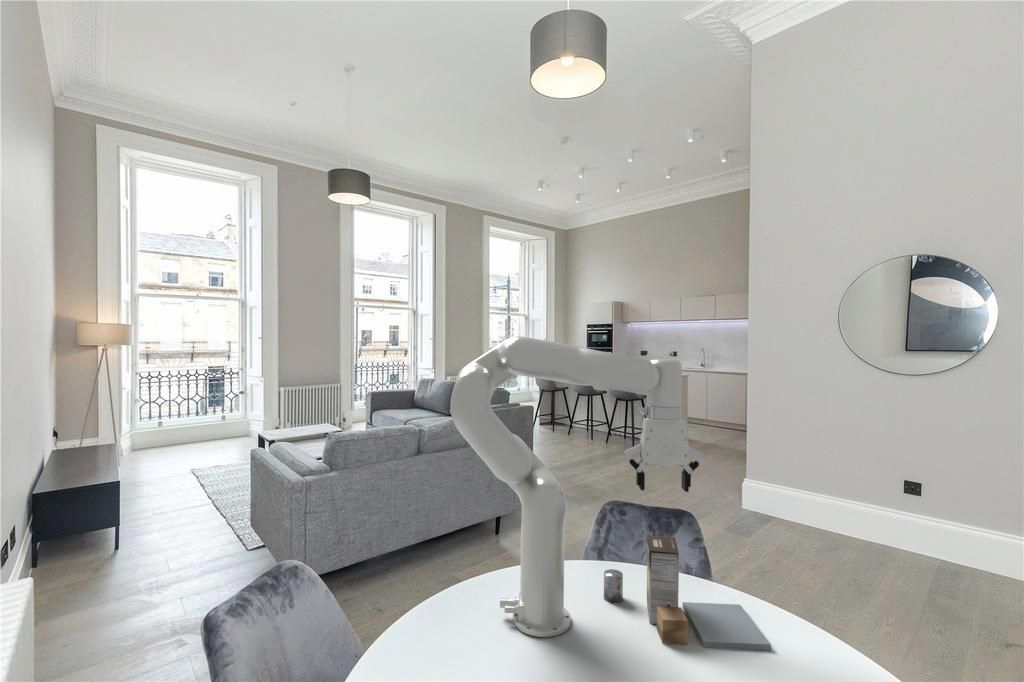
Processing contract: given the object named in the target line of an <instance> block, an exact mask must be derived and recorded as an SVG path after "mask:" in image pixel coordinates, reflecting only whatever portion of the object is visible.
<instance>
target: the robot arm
mask: <svg viewBox="0 0 1024 682" xmlns="http://www.w3.org/2000/svg"><path fill="white" fill-rule="evenodd" d="M682 369H683V366H682V363H681V362H680V361H679V360H677V359H670V358H669V359H667V358H657V359H651V360H649V359H647V358H643V357H636V356H630V355H624V354H617V353H613V352H606V351H602V350H601V351H600V350H596V349H592V348H587V347H584V346H579V345H574V344H569V343H562V342H561V343H560V342H555V341H550V340H545V339H539V338H538V339H537V338H532V337H527V336H526V337H525V336H511V337H509V338H506V339H504V340H503V341H502V342H501V343H499V344H498V345H496V346H495V347H493V348H491V349H490V350H488V351H487V352H486V353H484V354H483V355H481V356H479V357H478V358H476V359H475V360H473V361H472V362H470V363H468V364H467V365H466V366H464V367H462V369H460V370H459V372H458V373H457V376H456V379H455V383H454V385H453V389H452V392H451V397H450V408H449V409H450V414H451V418H452V421H453V423H454V424H453V425H454V426H455V427H456V429H457V431H458V432H459V434H460V435H461V436H462V437H463V439H464V440H465V441H466V442H467V444H468V445H469V446H470V447H471V448H472V449H473V451H474V452H475V453H476V454H477V455H478V457H479V458H480V459H481V460H482V461H483V462H484V464H485V465H486V466H487V467H488V468H489V470H490V471H491V473H492V474H493V475H494V477H496V478H497V479H498V480H500V481H501V482H503V483H505V484H507V485H508V487H510V489H511V490H512V491H513V492H514V493H515V494H516V495H517V496H518V498H519V501H520V503H521V526H520V582H519V583H520V585H519V586H520V590H519V591H520V592H519V594H518V595H519V596H518V597H517V596H515V597H514V598H506V597H501V598H500V601H499V608H501V609H502V608H503V609H504V614H505V613H506V614H512V621H513V624H514V626H515V628H517V630H519V631H520V632H522V633H524V634H526V635H527V636H533V637H538V638H550V637H551V638H552V637H556V636H559V635H562V634H564V633H565V632H566V631H568V629H569V628H570V627H571V625H572V624H571V623H572V621H571V619H572V617H571V614H570V612H569V610H567V609H566V608H565V603H564V602H565V600H564V598H565V590H564V589H565V529H566V527H565V526H566V520H567V519H566V518H567V511H568V509H567V508H568V506H567V505H568V503H567V497H566V496H567V495H566V492H565V490H564V488H563V487H562V485H561V483H560V482H559V481H558V480H557V478H556V477H555V476H554V474H553V473H552V472H551V471H550V470H549V468H547V467H546V465H545V464H544V463H543V462H542V461H541V460H540V459H539V457H538V456H537V455H536V454H535V453H534V452H533V450H532V449H531V448H530V447H529V446H528V445H527V444H526V442H525V441H524V440H523V439H522V438H521V437H520V436H518V435H517V434H515V433H512V431H511V430H510V429H509V428H507V426H506V425H505V424H504V422H503V421H502V420H501V419H500V418H499V416H498V415H497V414H496V413H495V412H494V411H493V409H492V404H491V401H492V397H493V395H494V392H495V390H496V389H498V388H499V387H501V386H502V385H504V384H506V383H507V382H508V381H510V380H511V379H513V378H514V377H515V376H523V377H528V378H534V379H541V380H547V381H553V382H558V383H563V384H564V383H566V384H571V385H577V386H587V387H589V386H591V387H595V388H598V387H599V388H602V389H609V390H614V391H615V390H616V391H621V392H627V393H634V394H641V395H642V394H646V405H645V407H640V408H639V411H640V413H639V414H641V415H644V416H645V418H643V421H642V425H641V432H640V441H639V443H638V444H635V445H634V446H632V447H630V448H627V449H625V450H624V452H623V453H624V454H625V457H626V459H627V461H628V463H629V464H630V465H631V466H632V468H633V469H635V471H636V474H635V475H636V476H635V477H636V479H635V481H636V486H638V487H639V489H640V490H641V491H645V490H646V489H645V488H646V487H645V484H646V483H645V480H646V477H645V476H646V474H645V472H644V470H645V468H646V467H648V466H657V467H661V466H662V467H681V468H682V471H681V489H682V490H683V491H684V492H686V493H689V491H690V489H689V488H691V485H692V474H693V473H694V471H695V470H696V469H697V468H698V467H699V465H700V463H701V462H702V460H703V458H704V454H703V453H702V452H701V451H699V450H697V449H695V448H693V447H691V446H690V445H689V438H688V435H689V434H688V429H687V423H686V420H683V419H682V388H683V387H682V385H683V384H682V383H683V381H682V379H683V378H682V377H683V375H682V374H683V373H682ZM638 452H639V458H640V459H639V460H638V462H637V461H636V460H635V459H634V457H633V456H634V455H635V454H637V453H638ZM690 454H691V455H692V456H693V457H694V458H693V460H691V461H690Z"/></svg>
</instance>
